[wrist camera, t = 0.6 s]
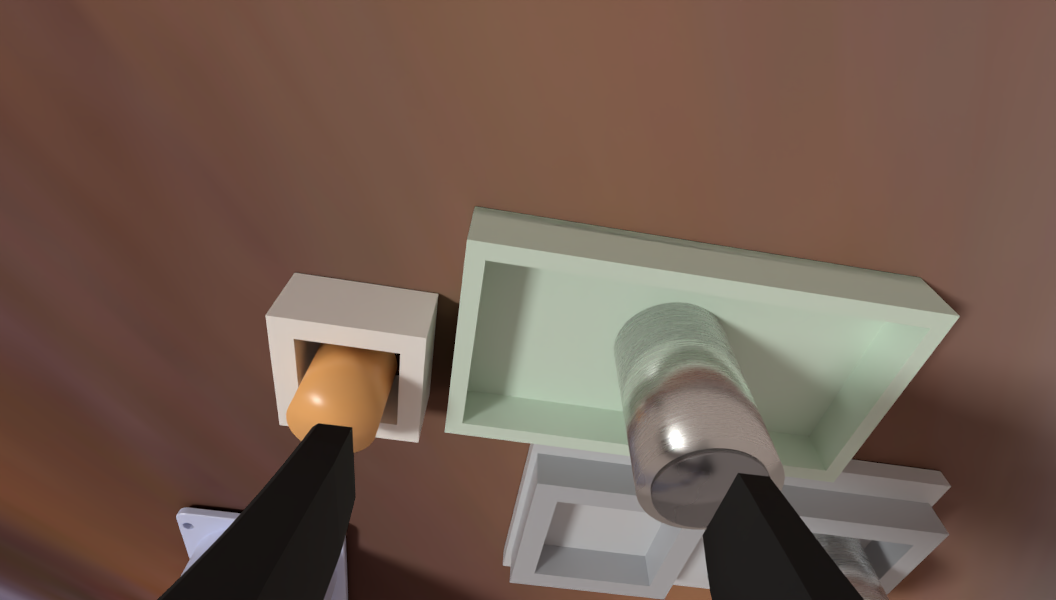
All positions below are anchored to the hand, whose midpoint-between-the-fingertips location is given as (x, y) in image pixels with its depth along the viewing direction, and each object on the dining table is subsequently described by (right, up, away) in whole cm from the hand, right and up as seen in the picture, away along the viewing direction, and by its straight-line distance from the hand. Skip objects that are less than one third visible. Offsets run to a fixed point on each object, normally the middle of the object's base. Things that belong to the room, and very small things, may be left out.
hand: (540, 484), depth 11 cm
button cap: (-6, +1, +9) cm, 11 cm away
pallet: (+8, -7, +16) cm, 19 cm away
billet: (+5, +2, +10) cm, 11 cm away
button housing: (-6, +2, +10) cm, 12 cm away
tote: (+5, +2, +10) cm, 11 cm away
